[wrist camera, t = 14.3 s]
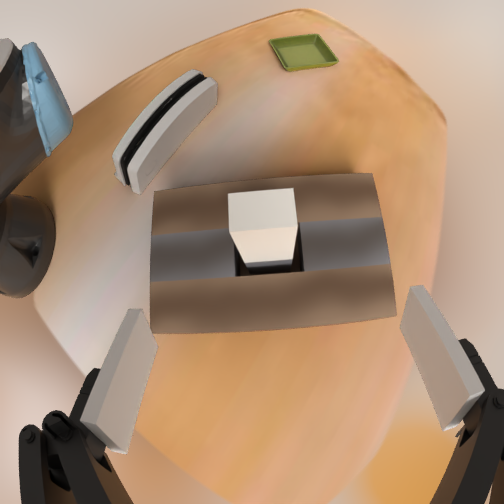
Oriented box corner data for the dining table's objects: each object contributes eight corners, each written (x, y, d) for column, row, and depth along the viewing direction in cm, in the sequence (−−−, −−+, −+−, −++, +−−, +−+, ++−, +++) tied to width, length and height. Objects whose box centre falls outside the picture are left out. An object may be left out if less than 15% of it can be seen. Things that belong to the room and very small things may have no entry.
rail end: (290, 271, 30) (297, 226, 17) (250, 274, 30) (229, 231, 18) (288, 247, 31) (293, 188, 18) (248, 250, 31) (228, 193, 18)
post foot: (379, 319, 29) (397, 315, 24) (169, 333, 30) (150, 333, 25) (360, 194, 32) (372, 172, 28) (170, 210, 34) (154, 191, 29)
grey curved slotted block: (191, 93, 39) (193, 50, 29) (216, 109, 39) (225, 67, 30) (115, 180, 36) (93, 152, 26) (141, 199, 37) (126, 175, 27)
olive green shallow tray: (268, 48, 41) (267, 39, 39) (317, 42, 41) (318, 33, 39) (284, 78, 39) (284, 68, 37) (338, 71, 38) (340, 61, 36)
